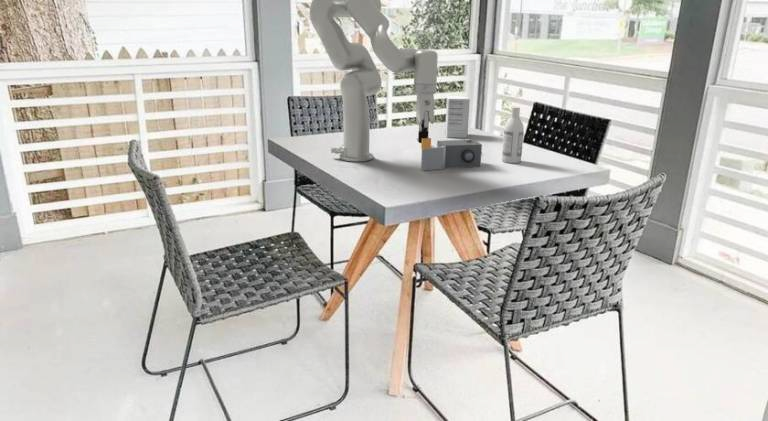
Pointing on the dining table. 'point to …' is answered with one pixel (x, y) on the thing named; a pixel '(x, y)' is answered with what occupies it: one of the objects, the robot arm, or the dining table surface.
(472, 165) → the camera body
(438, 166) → the side door
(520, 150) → the bath foam
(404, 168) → the dining table surface
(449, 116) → the supplement box
